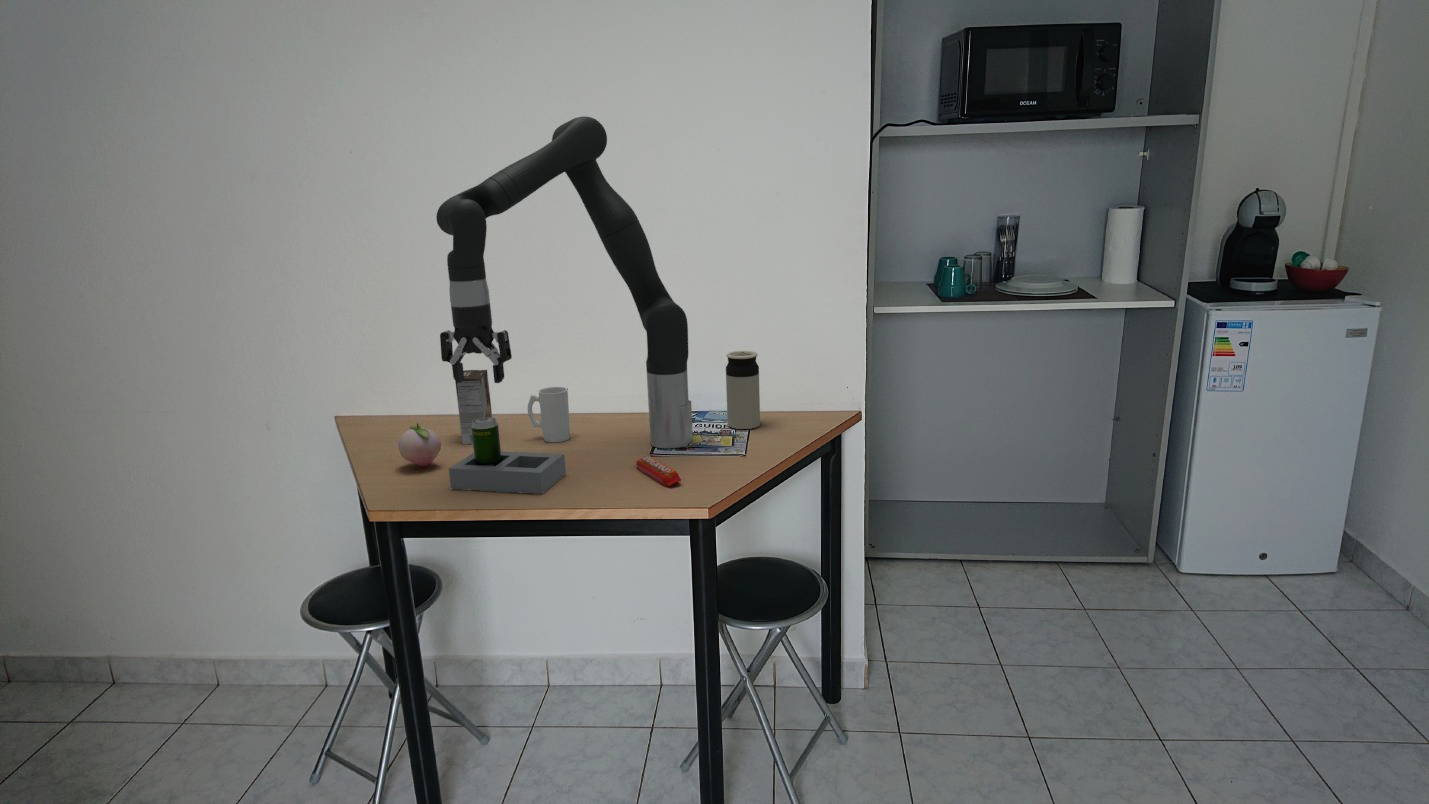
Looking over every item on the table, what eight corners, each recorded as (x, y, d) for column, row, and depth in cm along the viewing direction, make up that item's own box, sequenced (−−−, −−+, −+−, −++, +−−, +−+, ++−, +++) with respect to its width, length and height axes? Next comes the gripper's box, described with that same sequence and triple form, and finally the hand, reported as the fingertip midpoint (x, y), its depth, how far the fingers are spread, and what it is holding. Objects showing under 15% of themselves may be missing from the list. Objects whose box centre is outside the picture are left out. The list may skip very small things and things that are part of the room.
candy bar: (633, 469, 192) (632, 455, 191) (649, 465, 193) (648, 452, 193) (667, 490, 178) (666, 476, 177) (683, 486, 180) (683, 472, 179)
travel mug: (754, 431, 214) (752, 357, 210) (723, 429, 217) (720, 356, 213) (764, 422, 222) (762, 351, 217) (734, 420, 224) (731, 349, 220)
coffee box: (468, 433, 221) (461, 370, 217) (494, 432, 222) (488, 368, 218) (461, 444, 213) (453, 378, 208) (488, 443, 213) (481, 377, 209)
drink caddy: (565, 474, 189) (564, 454, 188) (542, 494, 178) (540, 472, 177) (479, 470, 194) (477, 450, 193) (451, 489, 182) (448, 468, 181)
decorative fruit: (393, 468, 197) (387, 424, 195) (426, 458, 203) (421, 416, 200) (416, 476, 191) (410, 431, 189) (449, 466, 197) (444, 422, 194)
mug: (575, 434, 217) (571, 386, 214) (566, 443, 211) (562, 393, 208) (535, 434, 219) (531, 386, 216) (525, 442, 212) (520, 393, 209)
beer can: (504, 477, 185) (499, 422, 182) (478, 481, 183) (471, 425, 180) (501, 470, 190) (495, 415, 187) (475, 473, 188) (469, 418, 185)
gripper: (511, 299, 179) (519, 378, 183) (447, 299, 182) (456, 377, 187) (494, 305, 172) (503, 387, 176) (428, 305, 175) (437, 386, 179)
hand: (479, 382), depth 181 cm, fingers open, 8 cm apart
